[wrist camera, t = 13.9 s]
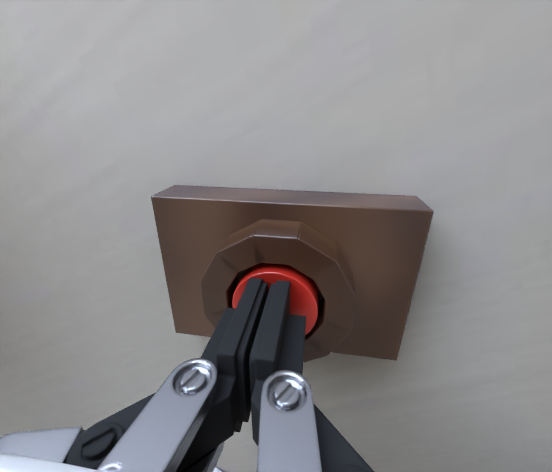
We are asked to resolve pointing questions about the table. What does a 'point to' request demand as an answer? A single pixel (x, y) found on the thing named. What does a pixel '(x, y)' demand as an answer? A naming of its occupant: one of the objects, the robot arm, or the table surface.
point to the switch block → (296, 258)
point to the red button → (300, 289)
